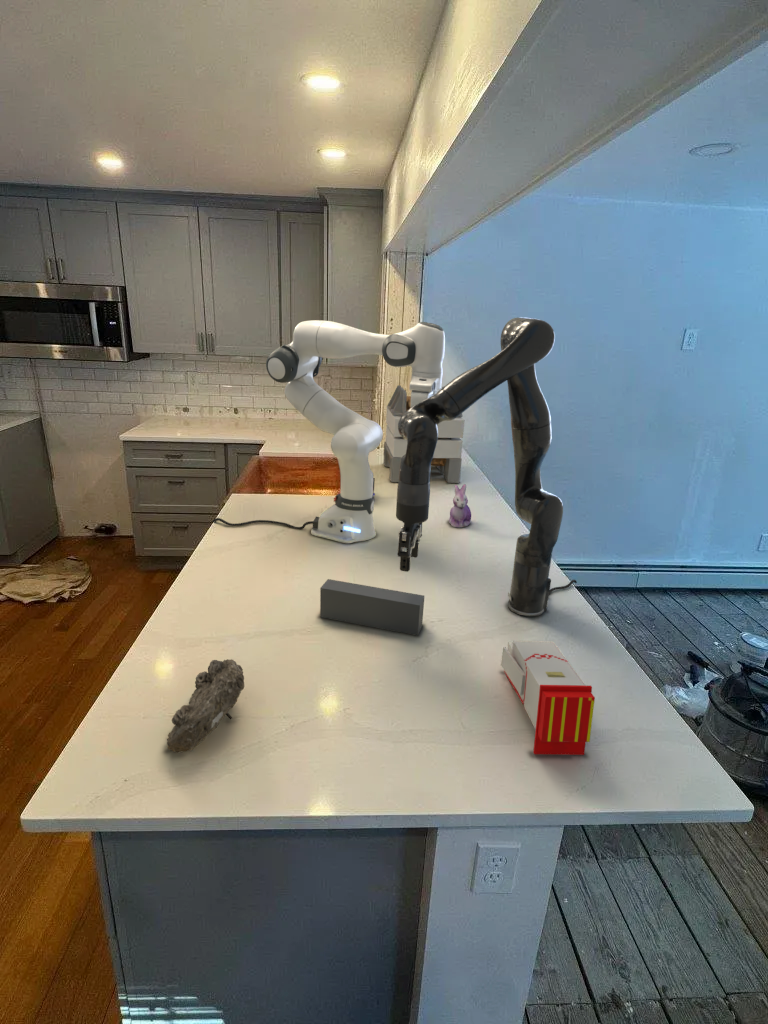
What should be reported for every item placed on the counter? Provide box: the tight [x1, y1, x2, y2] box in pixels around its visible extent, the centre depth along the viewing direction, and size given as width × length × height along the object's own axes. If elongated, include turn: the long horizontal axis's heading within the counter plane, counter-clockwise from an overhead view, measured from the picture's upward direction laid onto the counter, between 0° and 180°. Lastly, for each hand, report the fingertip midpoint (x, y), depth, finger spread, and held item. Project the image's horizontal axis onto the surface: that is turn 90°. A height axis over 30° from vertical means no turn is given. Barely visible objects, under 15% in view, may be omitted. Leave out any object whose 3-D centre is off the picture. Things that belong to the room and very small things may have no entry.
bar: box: [319, 578, 425, 636], centre depth 142 cm, size 26×5×8 cm, turn 74°
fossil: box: [166, 658, 245, 754], centre depth 106 cm, size 22×10×15 cm
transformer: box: [383, 384, 465, 484], centre depth 268 cm, size 34×33×41 cm
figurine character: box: [373, 477, 376, 497], centre depth 233 cm, size 7×8×15 cm
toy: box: [500, 640, 596, 756], centre depth 114 cm, size 12×13×30 cm
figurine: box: [448, 483, 472, 528], centre depth 209 cm, size 9×10×15 cm
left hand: (422, 429), depth 169 cm, fingers open, 8 cm apart
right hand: (409, 563), depth 136 cm, fingers open, 8 cm apart
